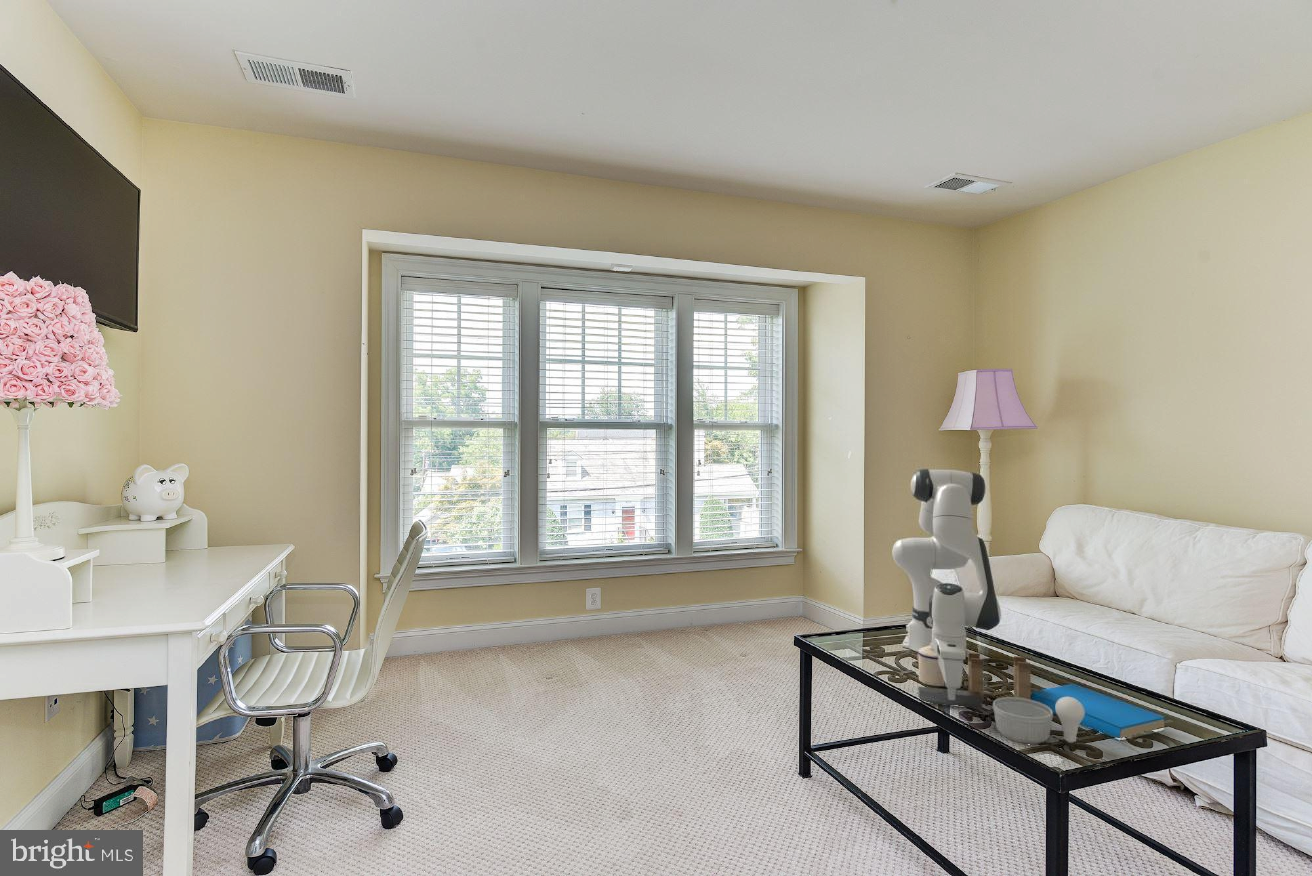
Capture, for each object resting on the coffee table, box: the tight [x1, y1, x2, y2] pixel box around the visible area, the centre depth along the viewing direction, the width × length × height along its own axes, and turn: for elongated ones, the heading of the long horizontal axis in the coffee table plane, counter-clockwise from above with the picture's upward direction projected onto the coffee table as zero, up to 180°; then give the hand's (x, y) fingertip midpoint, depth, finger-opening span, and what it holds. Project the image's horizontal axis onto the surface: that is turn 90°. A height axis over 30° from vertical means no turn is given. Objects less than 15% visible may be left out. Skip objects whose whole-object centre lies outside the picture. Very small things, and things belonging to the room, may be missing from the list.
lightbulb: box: [1055, 697, 1085, 744], centre depth 163 cm, size 6×6×11 cm
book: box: [1031, 683, 1166, 738], centre depth 178 cm, size 17×4×25 cm
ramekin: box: [992, 696, 1054, 745], centre depth 168 cm, size 13×13×7 cm
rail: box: [917, 686, 983, 710], centre depth 188 cm, size 4×16×4 cm, turn 74°
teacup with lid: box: [917, 643, 944, 687], centre depth 206 cm, size 12×9×12 cm
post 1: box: [967, 652, 984, 701], centre depth 193 cm, size 6×3×11 cm, turn 163°
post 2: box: [1013, 655, 1032, 700], centre depth 190 cm, size 6×3×11 cm, turn 163°
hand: (949, 692), depth 188 cm, fingers open, 8 cm apart
